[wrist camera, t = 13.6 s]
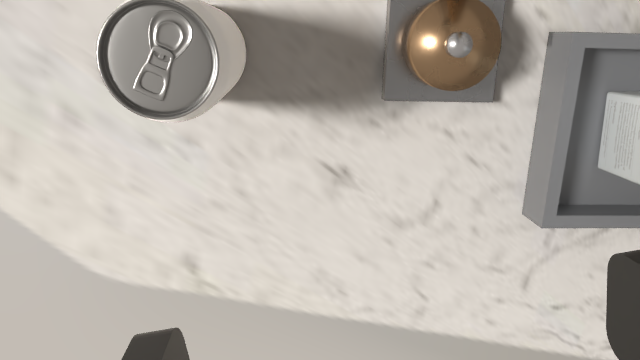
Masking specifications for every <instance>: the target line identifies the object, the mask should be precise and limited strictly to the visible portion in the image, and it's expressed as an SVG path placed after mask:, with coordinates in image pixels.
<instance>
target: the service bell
mask: <svg viewBox="0 0 640 360" xmlns="http://www.w3.org/2000/svg"><path fill="white" fill-rule="evenodd" d="M504 7H505V0H388V2H387V19H386V35H385V52H384V68H383V85H382V99H383V100H385V101H443V102H493V96H494V88H495V80H496V72H497V64H498V56H499V53H500V48H501V31H502V23H503V15H504Z"/></svg>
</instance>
